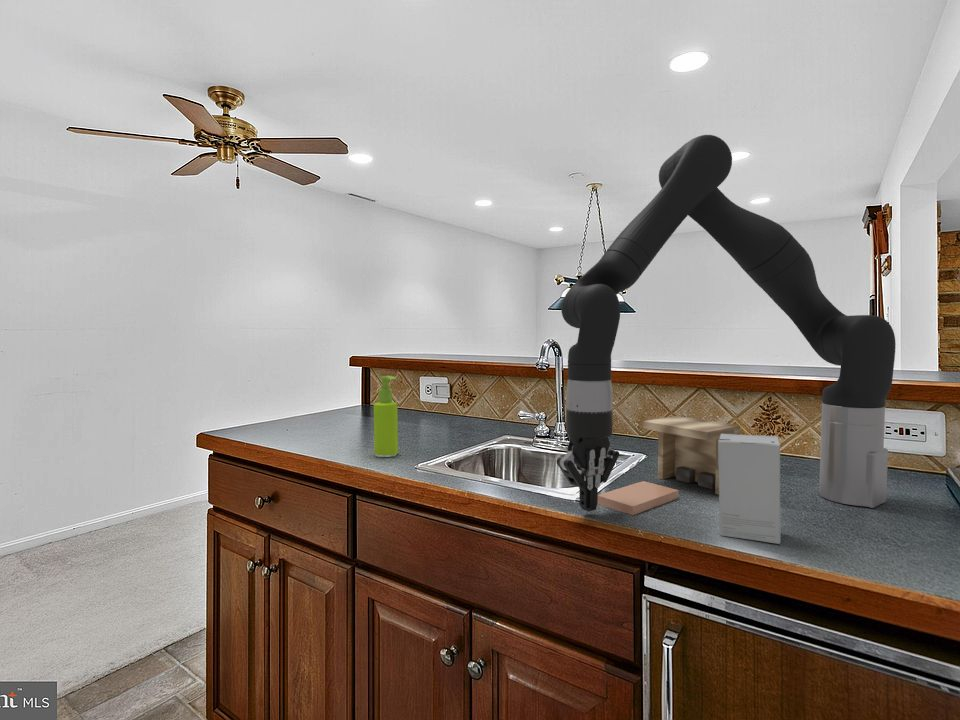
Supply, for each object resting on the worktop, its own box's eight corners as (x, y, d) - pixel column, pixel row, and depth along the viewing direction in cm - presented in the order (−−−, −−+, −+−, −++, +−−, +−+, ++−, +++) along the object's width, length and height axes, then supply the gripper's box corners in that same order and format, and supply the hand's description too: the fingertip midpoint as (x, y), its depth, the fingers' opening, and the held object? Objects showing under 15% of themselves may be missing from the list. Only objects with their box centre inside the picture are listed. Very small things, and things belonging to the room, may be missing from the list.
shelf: (738, 489, 99) (740, 425, 98) (705, 500, 93) (707, 432, 92) (675, 473, 111) (676, 415, 110) (642, 481, 104) (642, 421, 104)
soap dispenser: (384, 460, 124) (382, 377, 123) (370, 454, 129) (368, 375, 128) (404, 456, 128) (403, 376, 127) (390, 451, 133) (389, 374, 132)
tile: (678, 500, 94) (678, 490, 94) (632, 518, 86) (632, 506, 86) (643, 491, 100) (643, 481, 100) (596, 506, 92) (597, 495, 92)
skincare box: (779, 532, 78) (781, 435, 77) (780, 547, 73) (783, 443, 72) (718, 522, 82) (720, 431, 81) (716, 536, 77) (718, 438, 76)
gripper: (576, 413, 78) (576, 525, 79) (633, 405, 85) (632, 508, 86) (543, 407, 84) (543, 511, 85) (599, 401, 92) (599, 496, 93)
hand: (588, 509), depth 86 cm, fingers closed
